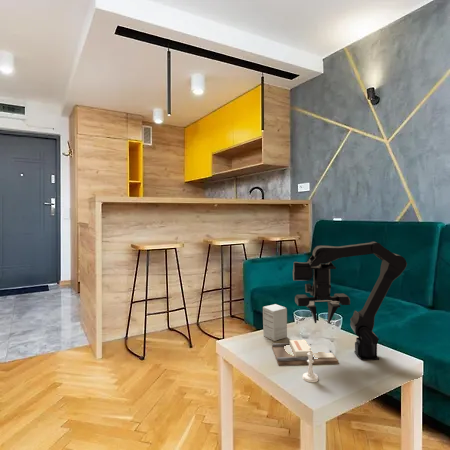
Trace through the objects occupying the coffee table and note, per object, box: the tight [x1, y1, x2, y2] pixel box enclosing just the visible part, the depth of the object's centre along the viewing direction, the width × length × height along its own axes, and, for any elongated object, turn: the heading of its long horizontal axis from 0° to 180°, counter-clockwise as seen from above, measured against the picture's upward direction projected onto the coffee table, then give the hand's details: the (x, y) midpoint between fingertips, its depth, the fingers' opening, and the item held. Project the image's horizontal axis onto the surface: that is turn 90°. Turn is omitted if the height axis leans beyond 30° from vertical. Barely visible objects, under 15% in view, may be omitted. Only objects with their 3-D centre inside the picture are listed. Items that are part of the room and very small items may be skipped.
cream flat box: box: [289, 339, 312, 357], centre depth 122 cm, size 6×10×2 cm, turn 1°
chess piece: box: [302, 347, 319, 383], centre depth 105 cm, size 5×5×10 cm
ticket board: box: [271, 342, 339, 366], centre depth 122 cm, size 21×14×2 cm, turn 91°
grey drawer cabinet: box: [262, 303, 288, 342], centre depth 139 cm, size 7×7×13 cm
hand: (322, 322), depth 121 cm, fingers open, 5 cm apart
